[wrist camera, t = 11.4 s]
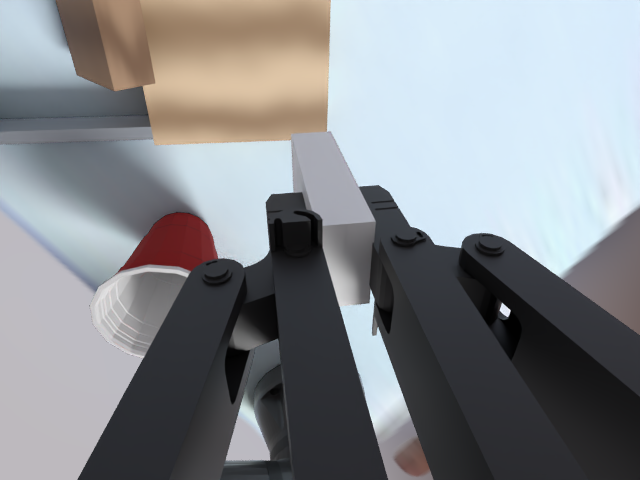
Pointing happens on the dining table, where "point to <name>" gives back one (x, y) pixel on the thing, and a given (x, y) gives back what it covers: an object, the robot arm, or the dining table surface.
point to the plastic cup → (150, 282)
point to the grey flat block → (75, 129)
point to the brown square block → (108, 42)
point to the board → (236, 69)
